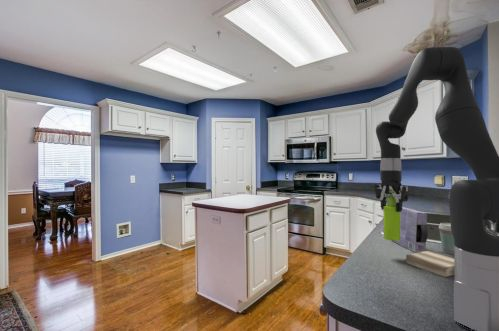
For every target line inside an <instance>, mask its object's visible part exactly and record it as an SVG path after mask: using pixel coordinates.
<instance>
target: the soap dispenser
mask: <svg viewBox="0 0 499 331" xmlns="http://www.w3.org/2000/svg"><path fill="white" fill-rule="evenodd" d="M389 192H390V193H395V191H390V190H389ZM386 201H387V206H384V210H383V239H384V240H387V241H391V242H393V241H400V212H396V203H397V202H396V200H395V197H393V195H392V194H389V196H388V197H387V199H386Z"/></svg>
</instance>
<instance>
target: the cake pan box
mask: <svg viewBox="0 0 499 331" xmlns="http://www.w3.org/2000/svg"><path fill="white" fill-rule="evenodd" d="M428 234H429V231H428V213H426V212H422V211H419V210H417V209H416V210H415V209H412V208H407V207H404V206H402V211H401V212H400V241H392V242H394V243H395V244H398V245H399V246H401V247H403V248H405V249H407V250H409V251H411V252H412V253H413V252H414V253H419V252H424V251H427V250H426V248H427V245H426V244H427V241H428ZM414 253H413V254H414Z"/></svg>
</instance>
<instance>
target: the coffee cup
mask: <svg viewBox="0 0 499 331" xmlns="http://www.w3.org/2000/svg"><path fill="white" fill-rule="evenodd" d="M438 230H439V236H440V241H441V249H442V252H443V253H444V254H448V255H453V256H454V238H453V235H452V231H451V222H440V223H439V226H438Z"/></svg>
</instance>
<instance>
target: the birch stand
mask: <svg viewBox="0 0 499 331" xmlns="http://www.w3.org/2000/svg"><path fill="white" fill-rule="evenodd" d="M405 260H406V262H405V263H406V264H407V265H408V264H409V265H411V266H414V267H417V268H419V269H422V270H424V271H427V272H431V273H433V274H436V275H439V276H441V277H444V278H446V277H450V276H454V257H451V256H447V255H443V254H440V253H437V252H433V251H430V250H426V251H424V252H419V253H409V254H406V256H405Z"/></svg>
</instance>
